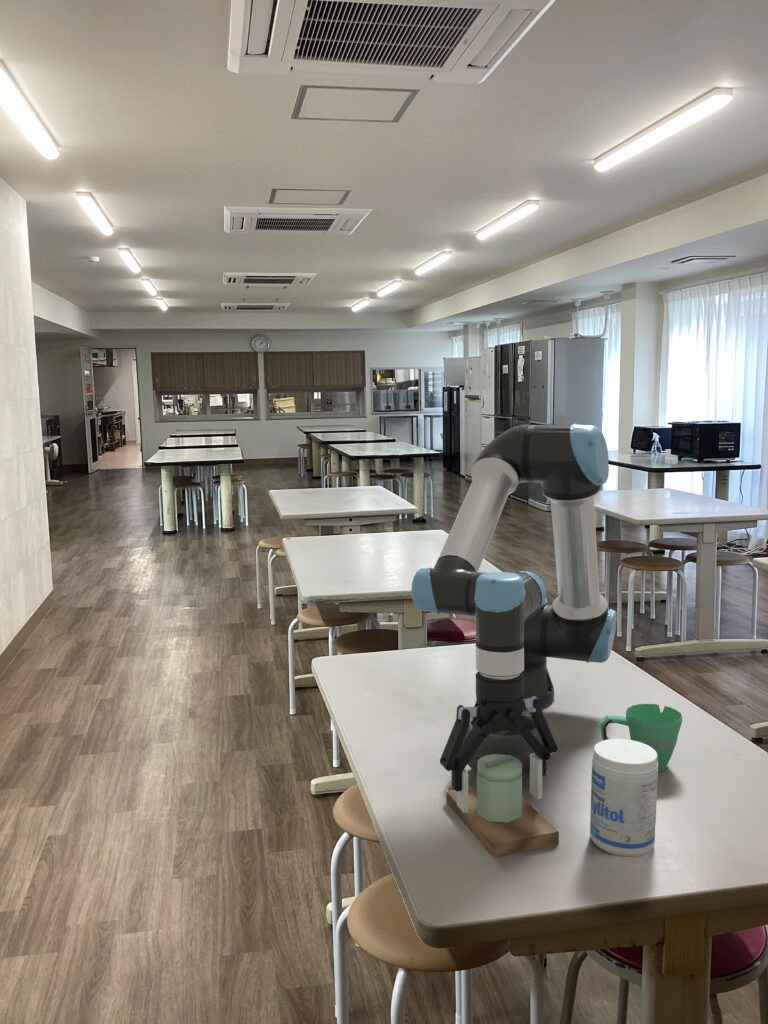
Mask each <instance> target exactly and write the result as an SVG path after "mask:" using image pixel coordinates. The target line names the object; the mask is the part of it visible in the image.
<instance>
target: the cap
mask: <svg viewBox="0 0 768 1024" xmlns="http://www.w3.org/2000/svg"><path fill="white" fill-rule="evenodd" d="M476 786H477V814H478V815H480V816H481V817H483V818H485V819H486V820H488V821H494V822H511V821H513V820H515V819H518V818H520V817H522V797H523V777H522V763H521V761H520V760H519V759H517V758H515V757H513V756H511V755H503V754H492V755H487V756H484V757H481V758H480V759H479V760H478V762H477V773H476Z"/></svg>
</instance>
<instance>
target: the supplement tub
mask: <svg viewBox="0 0 768 1024" xmlns="http://www.w3.org/2000/svg"><path fill="white" fill-rule="evenodd" d="M591 761H592V762H591V782H590V783H591V786H590V787H591V788H590V789H591V790H590V815H589V816H590V818H589V819H590V821H589V822H590V823H589V835H590V839H591V840H592V842H593V843H594V845H596V846H597V847H598V848H600V849H601V850H603V851H605V852H607V853H610V854H613V855H617V856H622V857H637V856H642V855H645V854H647V853H649V852H650V851H651V850H652V849H653V848H654V846H655V842H656V841H655V839H656V822H657V821H656V819H657V818H656V817H657V799H658V798H657V797H658V780H659V779H658V775H659V773H658V772H659V771H658V761H657V752H656V751H655V750H654V749H653V748H652V747H650V746H648V745H646V744H644V743H641V742H637V741H633V740H631V739H626V738H625V739H624V738H609V740H604V741H603V740H602V741H599V742H597V743H596V744H594V748H593V754H592V759H591Z"/></svg>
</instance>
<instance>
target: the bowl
mask: <svg viewBox="0 0 768 1024" xmlns="http://www.w3.org/2000/svg"><path fill="white" fill-rule="evenodd" d="M477 718H478V717H477V716H476V715H474V716H473V718H472V719H473V720H472V721H471V722H470V723H469V728H468V730H467V733H466V735H465V738H464V741H465V739H466V738H467V736H468V735H469V733H470V732H471V730H472V729H473V724H474V723H475V721H476V720H477ZM520 718H521V720H522V721H523V722H524V723H525V725H526V726H527V728H528V729H529V730H530V731H531V733H532V734H533V735H534V736H535V738H536V739H537V740H538V741H539V742H540V744H541V745H543V742H542V739H541V737H540V735H539V733H538V730H537V728H536V726H535V723H534V721H533V719H532V717H531V715H527V714H526V713H525V714H524V713H522V715H521V716H520ZM483 728H484V725H483V726H482V729H483ZM464 741H463V742H464ZM462 744H463V743H462ZM533 753H534V754H536V752H535V751H534V750H533V749H532V748H531V746H530V745H529V744H528V743H527V742H526V740H525V739H524V738H523V737H522V735H521V734H520V733H519V732H518V731H517V729H516V728H515V727H512V728H511V730H501V731H498V732H493V731H491V732H490V734H489V735H488V737H486V738H484V740H483V741H482V743H481V744H480V746H479V747H478V749H477V750H476V752H475V753H474V755H473V756H472V758H471V759H470V761H469V762H468V764H467V766H469V768H470V769H471V770H472V771H474V772H475V773H476V774H477V762H478V760H479V759H480V758H481V757H484V756H487V755H492V754H503V755H511V756H513V757H515V758H517V759H519V760H520V761H521V763H522V778H524V777H526V776H527V775H530V754H533Z"/></svg>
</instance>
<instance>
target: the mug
mask: <svg viewBox="0 0 768 1024" xmlns="http://www.w3.org/2000/svg"><path fill="white" fill-rule="evenodd" d="M601 719H602V720H600V721H599V726H600V733H601V734H600V735H601V740H602V741H604V740H609V739H610V737H608V735H607V726H609V725H610V724H619V725H623V726H626V727H628V731H629V738H630V740H633V741H637V742H641V743H644V744H646V745H648V746H650V747H652V748H653V749H654V750H655V751H656V752H657V761H658V772H659V771H664V770H665V769H667V767H668V765H669V762H670V760H671V758H672V756H673V753H674V752H675V751H674V750H675V748H676V745H677V742H678V736H679V734H680V733H679V732H680V730H681V727H682V724H683V723H682V722H683V714H682V713H681V712H680V711H679V710H678V709H676V708H674V707H670V706H667V705H664V707H663V710H662V711H661V708H660V706H659V704H658V703H657V704H656V703H638V704H633V705H631V706H629V707H627V708H626V710H625V716H623V715H617V714H607V715H605V716H604V717H603V718H601Z"/></svg>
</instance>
